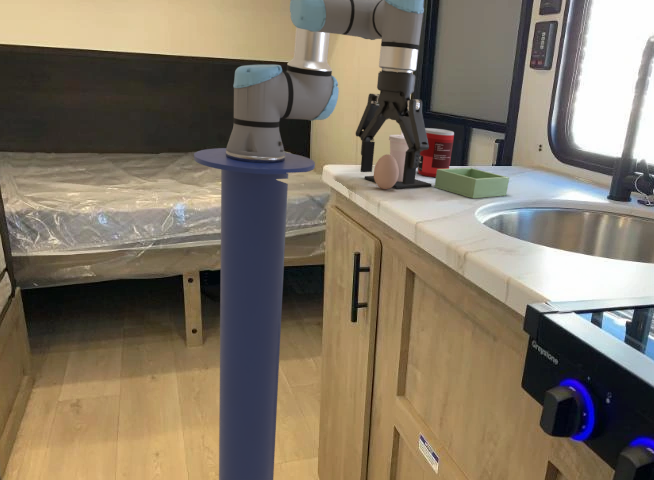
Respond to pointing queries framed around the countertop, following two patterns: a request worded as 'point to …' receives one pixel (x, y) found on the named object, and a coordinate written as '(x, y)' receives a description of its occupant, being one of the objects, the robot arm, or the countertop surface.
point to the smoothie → (398, 152)
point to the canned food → (436, 152)
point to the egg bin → (471, 182)
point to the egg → (386, 172)
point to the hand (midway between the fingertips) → (386, 177)
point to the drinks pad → (399, 184)
